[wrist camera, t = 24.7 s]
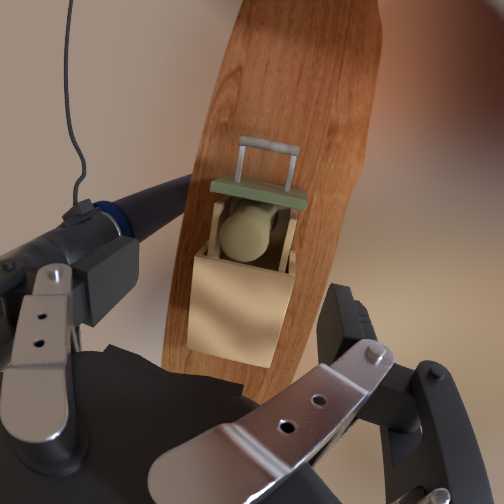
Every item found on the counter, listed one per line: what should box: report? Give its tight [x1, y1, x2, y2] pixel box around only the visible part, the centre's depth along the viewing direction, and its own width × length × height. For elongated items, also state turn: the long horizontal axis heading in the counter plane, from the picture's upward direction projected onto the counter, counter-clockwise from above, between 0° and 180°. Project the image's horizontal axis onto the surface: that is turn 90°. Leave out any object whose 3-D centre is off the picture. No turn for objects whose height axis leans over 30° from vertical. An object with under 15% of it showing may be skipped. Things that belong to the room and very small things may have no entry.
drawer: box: [207, 136, 308, 273], centre depth 37 cm, size 19×11×7 cm, turn 170°
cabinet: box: [187, 239, 295, 368], centre depth 42 cm, size 15×12×9 cm
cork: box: [219, 198, 278, 262], centre depth 35 cm, size 6×6×11 cm
